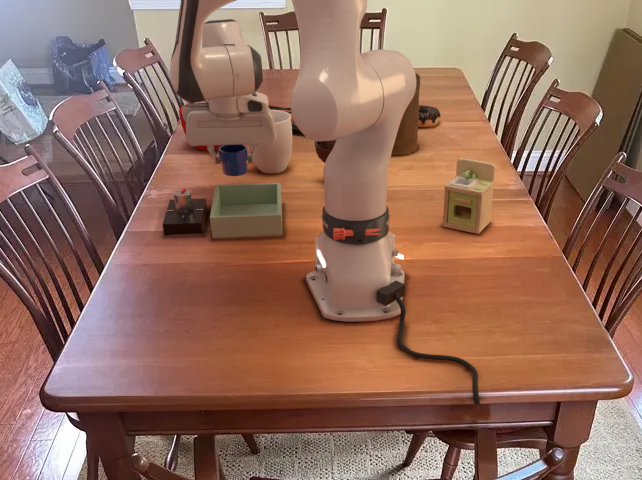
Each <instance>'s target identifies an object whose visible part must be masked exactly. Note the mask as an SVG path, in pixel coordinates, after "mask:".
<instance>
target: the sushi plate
mask: <svg viewBox="0 0 642 480" xmlns="http://www.w3.org/2000/svg"><path fill="white" fill-rule="evenodd" d="M268 107H269V108H270V109H271V110H280V111H285V112H287V113H289V114H290V115H291V124H292V133H301V134H303V133H302V132H301V131H300V130H299V129H298V127H297V125H296V124H295V122H294V119H293V116H292V113H291V107H281V106H277V105H270V104H269V106H268Z"/></svg>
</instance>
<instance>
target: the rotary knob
mask: <svg viewBox="0 0 642 480" xmlns="http://www.w3.org/2000/svg"><path fill="white" fill-rule="evenodd" d="M173 199H174V200H175V206H176V211H177V213H180V214H187V213H191V212H192V211H193V204H192V199H193V197H192V192H191V191H190V190H189V189H187V188H186V187H183V188H182V189H177V190H175V191H174V192H173Z"/></svg>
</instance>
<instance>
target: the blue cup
mask: <svg viewBox="0 0 642 480" xmlns="http://www.w3.org/2000/svg"><path fill="white" fill-rule="evenodd" d="M218 154H219V157H220V161H221V167H222V174H224V175H225V176H229V177H240V176H244V175H246V174H247V173H248V164H247V160H248V158H247V156H248V154H249V152H248V146H247V145H246V144H243V145H220V147H219V148H218Z"/></svg>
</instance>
